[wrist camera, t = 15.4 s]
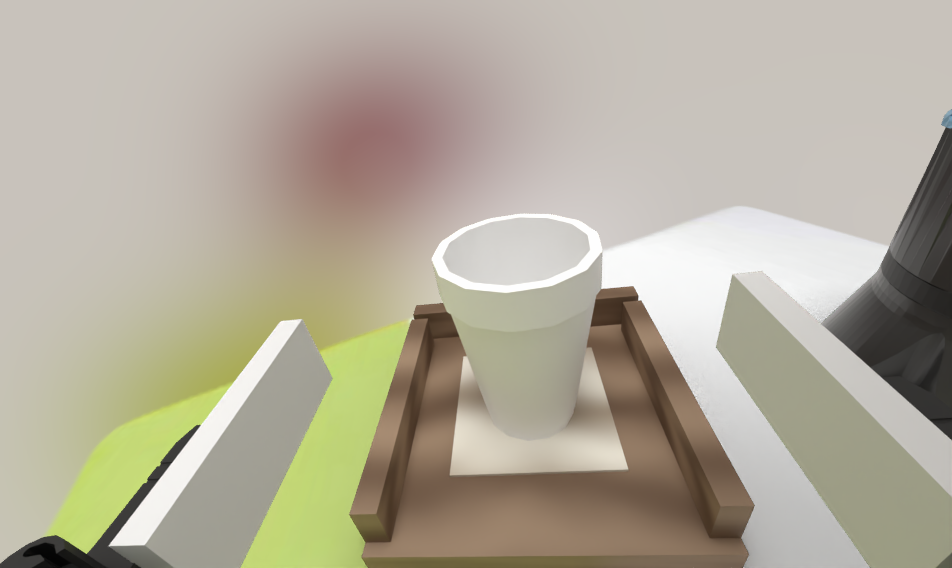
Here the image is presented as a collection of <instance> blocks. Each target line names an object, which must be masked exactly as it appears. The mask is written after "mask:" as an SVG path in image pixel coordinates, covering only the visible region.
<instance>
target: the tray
mask: <svg viewBox="0 0 952 568" xmlns="http://www.w3.org/2000/svg"><path fill="white" fill-rule="evenodd" d="M413 315H414V319H415V320H412V321H411V324H410V327H409V330H408V333H407V336H406V339H405V342H404V346H403V349H402V352H401V355H400V358H399V361H398V364H397V367H396V370H395V374H394V377H393V380H392V383H391V386H390V389H389V392H388V395H387V398H386V402H385V405H384V408H383V411H382V414H381V417H380V420H379V423H378V426H377V430H376V433H375V436H374V439H373V442H372V445H371V448H370V451H369V455H368V458H367V461H366V464H365V467H364V470H363V473H362V476H361V479H360V483H359V486H358V489H357V492H356V495H355V498H354V501H353V504H352V507H351V511H350V514H349V515H350V517H351V519H352V520H353V522H354V524H355V525H356V527H357V529H358V530H359V532H360V534H361V536H362V537H363V539H364V541H365V542H366V543H365V547H364V551H363V554H362V559H363V560H364V562H365V564H366V565H367V567H368V568H743V566H744V564H745V562H746V560H747V558H748V556H749V554H748V551H747V549H746V547H745V545H744V543H743V541H742V539H741V537H742V534H743V532H744V530H745V527H746V525H747V523H748V520H749V518H750V516H751V513H752V511H753V509H754V506H755V505H754V504H753V502H752V500H751V498H750V496H749V495H748V493H747V491H746V489H745V487H744V485H743V484H742V482H741V480H740V478H739V476H738V475H737V473H736V471H735V469H734V467H733V466H732V464H731V462H730V460H729V458H728V457H727V455H726V453H725V451H724V449H723V448H722V446H721V444H720V442H719V440H718V438H717V437H716V435H715V433H714V431H713V429H712V428H711V426H710V424H709V422H708V420H707V419H706V417H705V415H704V413H703V411H702V410H701V408H700V406H699V404H698V402H697V401H696V399H695V397H694V395H693V393H692V391H691V390H690V388H689V386H688V384H687V382H686V381H685V379H684V377H683V375H682V373H681V372H680V370H679V368H678V366H677V364H676V363H675V361H674V359H673V357H672V355H671V354H670V352H669V350H668V348H667V346H666V344H665V343H664V341H663V339H662V337H661V335H660V334H659V332H658V330H657V328H656V326H655V325H654V323H653V321H652V319H651V317H650V316H649V314H648V312H647V310H646V308H645V307H644V305H643V303H642V301H638V294H637V292H636V290H635V288H634V287H633V286H631V287H620V288H609V289H601V290H600V291H599V293H598V294H597V295H596V299H595V304H594V309H593V315H592V320H591V325H590V331H589V336H588V341H587V347H586V352H585V357H584V363H583V368H582V373H581V378H580V384H579V389H578V394H577V400H576V405H575V408H574V413H573V415H572V417H571V419H570V420H569V422H568V424H567V426H566V428H564V429H562V430H561V431H559V432H558V433H556V434H555V435H553V436H551V437H550V438H545V439H538V440H531V441H526V440H522V439H518V438H514V437H511V436H508V435H506V434H505V433H504V432H503V431H501V430H500V429H499V428H498V427H496V426H495V425H494V424H493V421H492V419H491V417H490V414H489V412H488V409H487V407H486V404H485V402H484V399H483V396H482V394H481V391H480V389H479V386H478V383H477V381H476V378H475V376H474V373H473V370H472V368H471V365H470V363H469V360H468V357H467V355H466V352H465V350H464V347H463V344H462V342H461V339H460V337H459V334H458V331H457V329H456V326H455V324H454V321H453V318H452V316H451V314H449V313H448V312H447V311H446V309H445V306H444V304H443V303H440V304H429V305H417V306H416V308H415V311H414V314H413Z"/></svg>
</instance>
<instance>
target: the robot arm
mask: <svg viewBox="0 0 952 568" xmlns="http://www.w3.org/2000/svg"><path fill="white" fill-rule="evenodd" d="M941 125H942V126H945V127H946V128H945V130H944V133H943V135H942V137H941V139H940V141H939V143H938V145H937V148H936V150H935V152H934V154H933V156H932V158H931V161H930V163H929V165H928V167H927V169H926V172H925V174H924V176H923V178H922V180H921V182H920V184H919V186H918V188H917V190H916V192H915V194H914V196H913V198H912V200H911V203H910V205H909V207H908V209H907V211H906V213H905V215H904V217H903V219H902V221H901V223H900V225H899V227H898V230H897V231H896V233H895V236H894V238H893V240H892V242H891V244H890V247H889V249H888V251H887V253H886V255H885V257H884V259H883V261H882V263H881V265H880V267H879V269H878V271H877V272H876V273H875V274H874V275H873V276H872V277H871V278H870V279H869V280H868V281H867V282H866V283H865V284H863V285H862V286H861V287H860V288H859V289H858V290H857V291H856V292H855V293H854V294H852V295H851V296H850V297H849V298H848V299H847V300H846V301H845V302H844V303H843V304H841V305H840V306H839V307H838V308H837V309H836V310H835V311H834V312H833V313H832V314H830V315H829V316H828V317H827V318H826V319H825V320H824V321H823V322H822V323H820V322H818V321H817V320H816V319H815V318H814V317H813V316H812V315H811V314H810V313H808V312H807V311H806V310H805V309H804V308H803V307H802V306H801V305H799V304H798V303H797V302H796V301H795V300H794V299H793V298H792V297H790V296H789V295H788V294H787V293H786V292H785V291H784V290H783V289H781V288H780V287H779V286H778V285H777V284H776V283H775V282H774V281H772V280H771V279H770V278H769V277H768V276H767V275H766V274H765V273H764V272H762V271H758V272H748V273H739V274H733V275H732V279H731V283H730V288H729V292H728V297H727V301H726V305H725V310H724V314H723V318H722V323H721V327H720V332H719V336H718V340H717V345H716V348H717V349H718V351H719V352H720V353H721V355H722V356H723V358H724V359H725V361H726V362H727V363H728V365H729V366H730V368H731V369H732V371H733V372H734V373H735V375H736V376H737V378H738V379H739V381H740V382H741V383H742V385H743V386H744V388H745V389H746V391H747V392H748V393H749V395H750V396H751V398H752V399H753V401H754V402H755V403H756V405H757V406H758V408H759V409H760V411H761V412H762V413H763V415H764V416H765V418H766V419H767V421H768V422H769V423H770V425H771V426H772V428H773V429H774V431H775V432H776V433H777V435H778V436H779V438H780V439H781V441H782V442H783V443H784V445H785V446H786V448H787V449H788V451H789V452H790V453H791V455H792V456H793V458H794V459H795V461H796V462H797V463H798V465H799V466H800V468H801V469H802V471H803V472H804V473H805V475H806V476H807V478H808V479H809V481H810V482H811V484H812V485H813V486H814V488H815V489H816V491H817V492H818V494H819V495H820V496H821V498H822V499H823V501H824V502H825V504H826V505H827V506H828V508H829V509H830V511H831V512H832V514H833V515H834V516H835V518H836V519H837V521H838V522H839V524H840V525H841V526H842V528H843V529H844V531H845V532H846V534H847V535H848V536H849V538H850V539H851V541H852V542H853V544H854V545H855V546H856V548H857V549H858V551H859V552H860V554H861V555H862V556H863V558H864V559H865V561H866V562H867V564H868V565H869V566H870V568H952V109H951V110H950V111H948V112H947V114H946V115H945V116H944V118H943V121H942V124H941ZM331 381H332V376H331V374H330V372H329V370H328V368H327V366H326V365H325V363H324V361H323V359H322V357H321V355H320V353H319V351H318V349H317V347H316V345H315V343H314V341H313V339H312V337H311V336H310V333H309V331H308V329H307V328H306V325H305V323H304V321H303V320H302V319H298V320H289V321H281V322H280V323H279V324H278V326H277V327H276V328H275V329H274V331H273V332H272V333H271V335H270V336H269V337H268V339H267V340H266V341H265V343H264V344H263V345H262V346H261V348H260V349H259V350H258V352H257V353H256V354H255V356H254V357H253V358H252V360H251V361H250V362H249V363H248V365H247V366H246V367H245V369H244V370H243V371H242V372H241V374H240V375H239V376H238V378H237V379H236V380H235V382H234V383H233V384H232V386H231V387H230V388H229V389H228V391H227V392H226V393H225V395H224V396H223V397H222V399H221V400H220V401H219V402H218V404H217V405H216V406H215V408H214V409H213V410H212V412H211V413H210V414H209V415H208V417H207V418H206V419H205V421H204V422H203V423H202V425H196V426H195V427H194V428H193V429H192V430H190V431H189V432H188V433H187V434H186V435H185V436H183V437H182V438H181V439H180V440H179V441H178V442H176V444H175V445H174V446H173V447H172V449H171V450H170V451H169V452H168V454H167V455H166V456H165V457H164V459H163V460H162V461H161V462H160V463H161V465H160V466H158V467H156V469H155V470H154V471H153V472H152V474H151V475H150V476H149V477H148V479H147V480H148V481H147V483H144V484H143V485H142V486H141V488H140V489H139V490H138V491H137V493H136V494H135V495H134V496H133V498H132V499H131V500H130V501H129V503H128V504H127V505H126V506H125V508H124V509H123V510H122V511H121V513H120V514H119V515H118V516H117V518H116V519H115V520H114V521H113V523H112V524H111V525H110V526H109V528H108V529H107V530H106V532H105V533H104V534H103V535H102V537H101V538H100V539H99V540H98V542H97V543H96V544H95V545H94V547H93V548H92V549H91V550H90V551H89V552H88V553H87V554H85V553H84V552H82V551H81V550H79V549H78V548H76V547H75V546H73V545H72V544H70V543H69V542H67V541H66V540H64V539H62V538H60V537H59V536H57V535H54V536H48V537H43V538H40V539H38V540H36V541H34V542H32V543H29V544H28V545H25V546H24V547H23V548H21V549H19V550H18V551H16V552H15V553H13V554H12V555H10V556H9V557H8V558H7V559H5V560H4V561H3V562H2V563H1V564H0V568H240V567H241V565H242V563H243V561H244V559H245V557H246V555H247V553H248V551H249V549H250V547H251V545H252V543H253V541H254V538H255V536H256V534H257V532H258V530H259V528H260V526H261V524H262V522H263V520H264V518H265V516H266V514H267V512H268V510H269V508H270V506H271V504H272V502H273V500H274V497H275V495H276V493H277V491H278V489H279V487H280V485H281V483H282V481H283V479H284V477H285V475H286V473H287V471H288V469H289V467H290V465H291V463H292V461H293V458H294V456H295V454H296V452H297V450H298V448H299V446H300V444H301V442H302V440H303V438H304V436H305V434H306V432H307V430H308V428H309V426H310V424H311V422H312V420H313V417H314V415H315V413H316V411H317V409H318V407H319V405H320V403H321V401H322V399H323V397H324V395H325V393H326V391H327V389H328V387H329V385H330V383H331Z"/></svg>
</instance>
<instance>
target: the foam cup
mask: <svg viewBox="0 0 952 568" xmlns="http://www.w3.org/2000/svg"><path fill="white" fill-rule="evenodd" d="M432 263H433V268H434V272H435V276H436V281H437V285H438V289H439V294H440V296H441V299H442V301H443V304H444V306H445V309H446V311H447V312H448V313H449V314H451V316H452V318H453V321H454V324H455V326H456V329H457V331H458V334H459V337H460V339H461V342H462V344H463V347H464V350H465V352H466V355H467V357H468V360H469V363H470V365H471V368H472V370H473V373H474V376H475V378H476V381H477V383H478V386H479V389H480V391H481V394H482V396H483V399H484V402H485V404H486V407H487V409H488V412H489V414H490V417H491V419H492V421H493V424H494V425H495V426H496V427H498V428H499V429H500V430H501V431H503V432H504V433H505V434H506V435H508V436H511V437H514V438H518V439H522V440H526V441H531V440H538V439H545V438H550V437H551V436H553V435H555V434H556V433H558V432H559V431H561V430H562V429H564V428H566V426H567V424H568V422H569V420H570V419H571V417H572V415H573V413H574V408H575V405H576V400H577V394H578V389H579V384H580V378H581V373H582V368H583V363H584V357H585V352H586V347H587V341H588V336H589V331H590V325H591V320H592V315H593V309H594V304H595V299H596V295H597V294H598V293H599V291H600V290H601V281H602V247H601V243H600V238H599V234H598V233H597V232H596V231H594V230H593V229H591V228H590V227H588V226H587V225H585V224H584V223H582V222H581V221H578V220H574V219H570V218H565V217H561V216H556V215H552V214H516V215H510V216H503V217H497V218H490V219H487V220H484V221H481V222H478V223H475V224H472V225H470V226H467V227H464V228H461V229H460V230H458V231H457V232H455V233H454V234H452V235H451V236H449V237H448V238H446V239H445V240H443V241H442V242H441V243H440V244H439V246H438V248H437V250H436V252H435V253H434V255H433V257H432Z"/></svg>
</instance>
